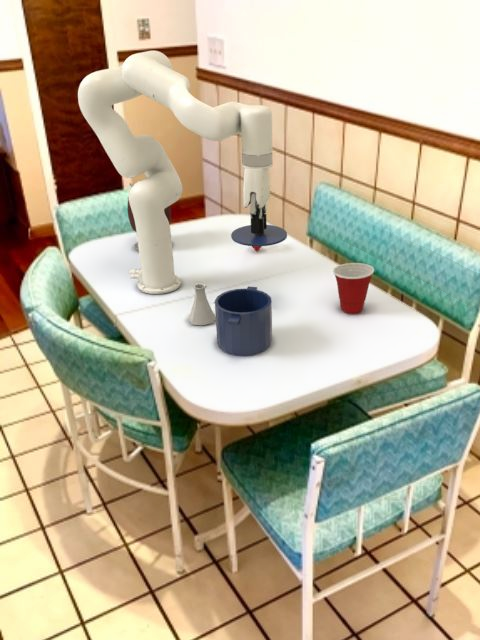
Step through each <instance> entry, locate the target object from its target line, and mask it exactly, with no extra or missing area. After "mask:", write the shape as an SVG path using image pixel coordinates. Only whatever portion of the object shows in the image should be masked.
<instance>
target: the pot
mask: <svg viewBox="0 0 480 640" xmlns="http://www.w3.org/2000/svg"><path fill="white" fill-rule="evenodd" d="M272 304H273V301H272V297H271V296H270V295H269V294H268V293H267V292H264V291H263V290H260V289H258V287H257V286H249V285H248V286H247V287H246V288H235V289H230V290H226V291H224V292H222V293H220V294H218V295H217V296H216V297H215V299H214V311H215V313H214V315H215V318H216V319H215V328H216V329H215V330H216V341H217V342H216V345H217V347H218V348H219V350H220V351H222V352H224V353H226V354H228V355H231V356H236V357H249V356H251V357H252V356H256V355H260V354H261V353H264V352H266V351H267V350H268V349H269V348H270V347H271V346H272V342H273V314H272V313H273V305H272Z"/></svg>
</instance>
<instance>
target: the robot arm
mask: <svg viewBox="0 0 480 640" xmlns="http://www.w3.org/2000/svg"><path fill="white" fill-rule="evenodd" d="M122 63H123V64H122V65H119V66H115V67H110V68H104V69H101V70H96V71H94V72H91V73H89V74H87V75H86V76H85V77H84V78H83V79H82V81H81V82H80V83H79V86H78V90H77V99H78V100H77V101H78V102H77V103H78V106H79V110H80V112H81V114H82V116H83V117H84V119H85V120H86V122H87V123H88V125H89V126H90V128H91V129H92V131H93V132H94V133H95V135H96V136H97V138H98V140H99V142H100V144H101V146H102V147H103V149H104V151H105V153H106V154H107V156H108V158H109V159H110V161H111V163H112V165H113V166H114V168H115V170H116V171H117V172H118V174H119V175H120V176H121V177H123V178H125V179H132V178H136V177H138V176H140V175H143V174H144V175H145V177H144V178H142V179H140V180H138V181H137V182H135V183H134V184H133V187H131V188H130V190H129V193H128V196H129V203H130V207H131V210H132V213H133V216H134V220H135V226H136V232H135V233H136V239H137V242H138V248H139V252H138V255H139V263H140V264H139V265H140V269H135V268H130V269H129V277H130V279H133V280H134V279H137V280H138V281H137V289H138V290H139V291H141V292H142V293H146V294H149V295H160V294H161V295H163V294H167V293H171V292H173V291H176V290H177V289H178V288H180V286H181V284H182V281H181V278H180V277H179V276H178V275H175V274H176V273H175V264H174V253H173V252H174V251H173V243H172V232H171V231H172V230H171V223H170V224H169V221H168V219H167V217H166V215H165V213H164V209H165V208H166V207H168V206H170V207H171V206H172V205H173V204H174V203H177V202H178V201H179V200H180V198H181V197H182V194H183V184H182V180H181V178H180V176H179V174H178V172H177V170H176V168H175V167H174V164H173V163H172V161H171V159H170V157H169V156H168V154H167V152H166V150H165V149H164V146H162V143H160V141H159V140H157V139H156V138H155V137H153V136H152V135H149V134H140V135H137V136H135V135H134V133H133V132H132V130H131V129H130V127H129V125H128V123H127V122H126V120H125V119H124V117H123V116H122V115H120V114H119V113H118V112H117V111H115V109H114V108H113V105H116V104H119V103H123V102H127V101H130V100H133V99H135V98H138V97H140V96H142V95H144V96H145V97H147V98H149V99H151V100H153V101H154V102H157V103H158V104H160V105H161V106H164V107H166V108H167V109H169V110H171V112H172V113H173V115H174V117H175V118H176V119H177V120H178V122H179V123H180V124H181V125H182V126H183V127H184V128H185V129H187V130H189V131H191V132H192V133H194V134H196V135H198V136H200V137H201V138H204V139H206V140H209V141H213V142H222V141H224V140H226V139H228V138H229V139H230V138H231V137H233V136H235V135H239V134H240V143H241V144H240V145H241V167H242V168H244V170H243V171H244V172H243V188H242V189H243V192H242V195H243V198H242V202H243V203H242V204H243V205H242V206H243V208H244V209H247V208H248V207H249V215H250V225H251V233H254V234H263V232H264V229H266V228H267V225H268V223H267V203H268V201H269V200H270V197H271V177H270V168H272V167H273V160H274V159H273V112H272V109H271V108H270V107H269V106H267V105H263V104H253V105H252V104H251V105H250V104H246V103H242V102H238V101H228V102H225V103H223V104H219V105H217V106H214V107H213V106H211V105H209V104H206V103H205V102H203V101H201V100H199V99H197V98H196V97H195V96H193V95H192V93H191V92H190V90H191V83H190V80H189V78H188V77H187V76H186V75H183V74H181V73H180V72H177V70H174V69H173V65H172V63H171V61H170V59H169V57H168V56H167V55H166V54H165V53H163V52H161V51H158V50H147V51H142V52H137V53H134V54H131V55H130V56H128V57H126V59H125V60H124V62H122ZM262 216H263V217H264V228H263V218H262Z"/></svg>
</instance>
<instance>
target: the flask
mask: <svg viewBox="0 0 480 640" xmlns="http://www.w3.org/2000/svg"><path fill="white" fill-rule="evenodd" d="M206 287H207V284H205V283H202V282H199V283H195V284H194V285H193V289H194V298H193V303H192V306H191V311H190V313H189V316H188V321H189V323H190V324H191V325H194V326H207V325H211V324H213V323H214V321H216V315H215V313H214V311H213V309H212V307H211V305H210V303H209V301H208V298H207V293H206V289H207V288H206Z"/></svg>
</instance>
